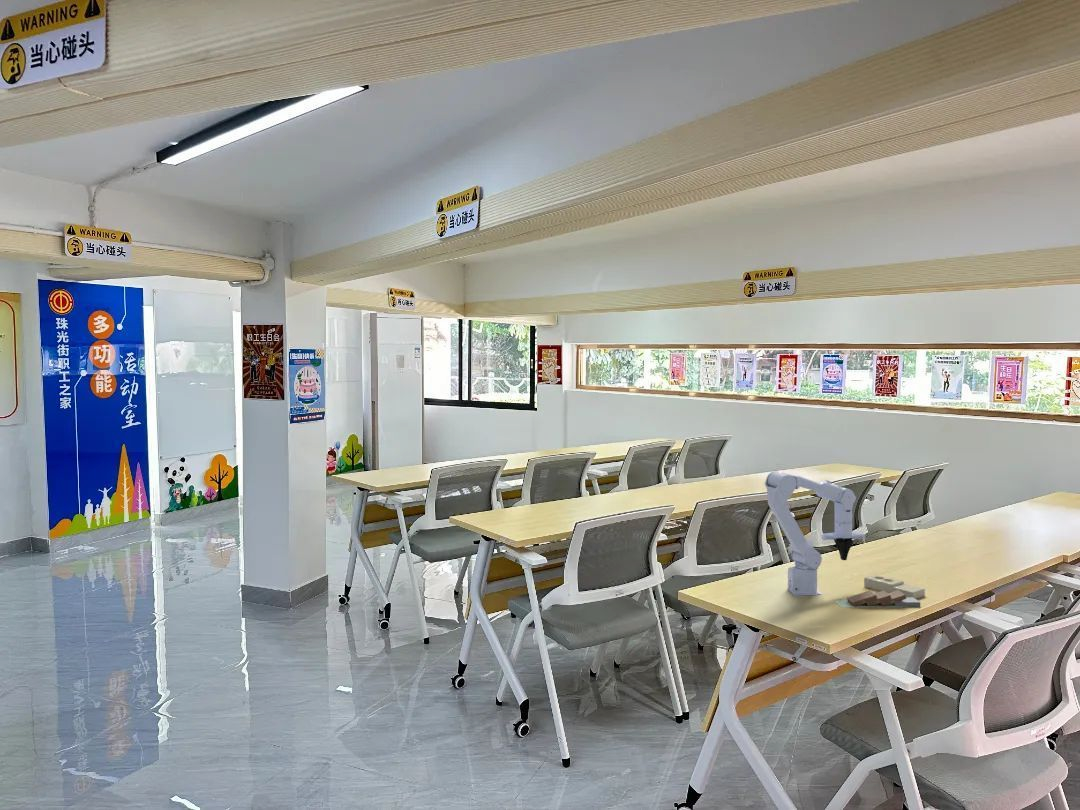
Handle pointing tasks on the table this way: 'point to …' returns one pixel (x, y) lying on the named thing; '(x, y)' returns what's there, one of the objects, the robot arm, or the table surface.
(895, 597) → the walnut domino
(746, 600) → the table surface
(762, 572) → the table surface
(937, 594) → the table surface
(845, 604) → the sage mat
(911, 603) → the charcoal end domino
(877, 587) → the electrical outlet
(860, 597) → the walnut domino
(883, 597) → the walnut domino
